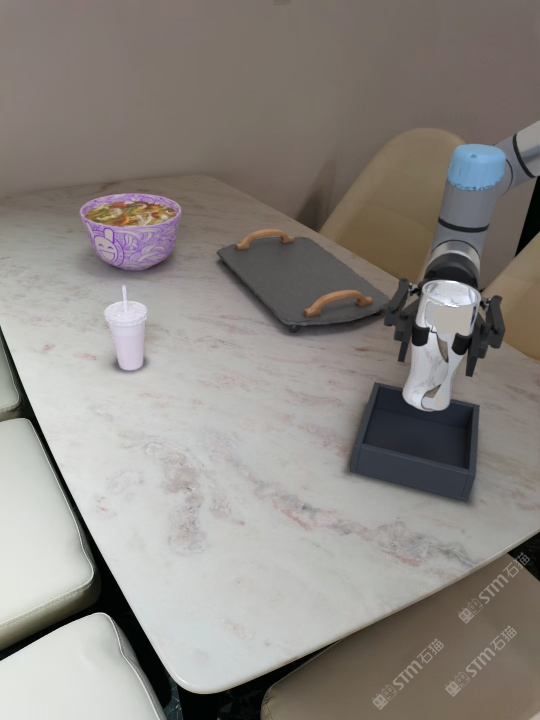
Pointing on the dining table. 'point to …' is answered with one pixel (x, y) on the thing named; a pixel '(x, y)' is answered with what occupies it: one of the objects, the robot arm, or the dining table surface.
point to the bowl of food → (132, 228)
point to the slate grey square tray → (418, 444)
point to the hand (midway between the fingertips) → (436, 359)
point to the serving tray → (301, 280)
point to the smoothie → (127, 331)
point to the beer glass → (439, 342)
